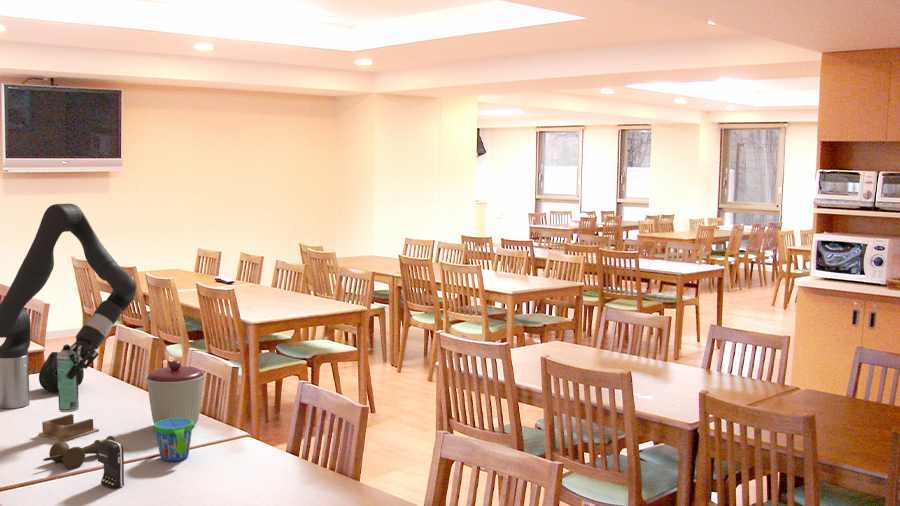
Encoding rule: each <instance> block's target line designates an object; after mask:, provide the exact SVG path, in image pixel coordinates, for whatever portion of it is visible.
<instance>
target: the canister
mask: <svg viewBox="0 0 900 506" xmlns="http://www.w3.org/2000/svg"><path fill="white" fill-rule="evenodd" d="M205 376H206V372H204V371H203V370H201V369H199V368H197V367H194V366H186V365H184V366H183V365H182V364H181V361H179V360H172V361H170V363H168V366H166V367H161V368H157V369H154V370H152V371H150V372H149V373H147V374H146V375H144V380H145V382H146V383H147V392H148V399H149V405H150V411H151V417H152V422H153V425H154V424H155V423H156V422H158V421H160V420H164V419H169V418H188V419H191V420H193V424H194V426H196V425H197V423H198V420H199V419H200V418H199V417H200V414H201V413H200V412H201V405H202V395H203V385H204V384H203V383H204V378H205Z"/></svg>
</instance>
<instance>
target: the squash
mask: <svg viewBox="0 0 900 506" xmlns="http://www.w3.org/2000/svg"><path fill="white" fill-rule="evenodd" d="M59 352H60V351H59ZM59 352H58V351H51V352H50V353H49V355H48V357H47V358H46V360H45V361H44V363H43V364H42V366H41V368H40V371H39V373H38V381H39V385H40V387H42V389H44V390H45V391H47V392H51V393H54V392H57V393H58V377H56V376H55V375H54V374H53V372H54V370H55V369H56V368H57V356H58V355H57V354H58V353H59ZM79 363H80V362H79ZM84 373H85V372H84V368H82V369H81V370H79V371H78V373H77V375H78V387H79V386H80V385H81V384H82V382H83V380H84Z"/></svg>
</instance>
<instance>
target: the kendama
mask: <svg viewBox="0 0 900 506" xmlns="http://www.w3.org/2000/svg"><path fill="white" fill-rule="evenodd" d="M107 440H114V441H117V440H116V438H115V436H113V435H109V436H107V437H106V438H105V439H103V440H100V439H96V440H94V441H93V443H90V444H89V445H86V446H83V447H81V446H73V447H70V446H69V444H68V443H67V442H63V441H58V442H55V443H54V444H52V446H51V447H50V449H49V456H48V457H45V458H43V460H42V461H44V462H48V461H53V462H55V463H57V462H59V463H60V462H63V465H64V467H65V468H66V469H69V470H73V469H77V468H79V467H81V466H82V465H83V464H84V462H85V460H86V455H89V454H90V455H92V454H94V455H97V451H98V445H99V444H100V443H101V442H104V441H107Z"/></svg>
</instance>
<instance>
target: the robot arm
mask: <svg viewBox="0 0 900 506" xmlns="http://www.w3.org/2000/svg"><path fill="white" fill-rule="evenodd" d="M65 232H67V233H68V232H70V234H73V236H75V238H76V239H77V240H78V241H79V242H80V244H81V246H82V249H83V254H84V257H85V259H86V260H85V261H86V262H87V264H88V265H89V266H90V268H91V269H92V270H93V272H94V273H95V274H96V275H97V277H99V278H100V280H102V281H104V282H107V284H108V285H109V286H110V287H111V289H112V290H111V293H110V294H109V295H108V297H107V298H106V299H105V300H103V301H102V302H101V303H100V304H99V305H98V306H97V308H96V309H95V310H94V312H93V313H92V315H90V316H89V318H88V319H87V320H86V321H85V323H84V324H83V326H82V327H81V328H80V330H79V331H78V332H77V334H76V335H75V342H74V343H73V344H71V345H69V346H70V349H72V351H74V352H76V355H77V356H76V361H75V364H74V365H75V366H72V368H71V369H70V371H69V372H68V373H67V375H66V377H67V378H69V379H71V380H72V379H73V378H74V377H75V376H76V374H77V373H78V371H79V370H81V369H82V368H83V370H84V369H85V370H86V369H88V368H89V366H90V365H91V364H92V363H93V362H94V361H95V359H96V358H97V357H98V356H99V354H100V353H99V352H98V351H97V350H98V349H99V348H100V346H101V344H103V342H104V341H105V339H106V338H107V337H108V335H109V334H110V332H111V330H112V328H113V326H114V325H115V323H116V322H117V321H118V319H119V317H121V314H123V313H124V311H125V310H126V309H127V308H128V307H129V306H130V304H131V303H132V302H133V300H134V299H135V297H136V293H137V283H136V282H135V279H134V278H133V277H132V276H131V275H130V274H129V273H128V272H127V271H126V270H125V269H124V268H123V267H121V266H120V265H119V264H118V262H117V261H116V260H115V258H114V257H112V255H111V254H110V253H109V251H108V250H107V249H106V247H104V244H102V242H101V241H100V239H99V237H98V236H97V234H96V232H95V231H94V229H93V228H92V225H91V224H90V222H89V221H88V218H87V216H86V215H85V214H84V212H83V210H82V209H81V208H80V207H79V206H78V205H76V204H74V203H55V204H52V205H49V206H47V208H46V210H45V212H44V213H43V215H42V218H41V221H40V223H39V226H38V229H37V231H36V234H35V237H34V239H33V241H32V243H31V245H30V247H29V250H28V252H27V253H26V256H25V257H24V259H23V261H22V263H21V265H20V267H19V268H18V271H17V272H16V275H15V277H14V280H12V283H11V285H10V287H9V289H8V291H7V292H6V295H4V298H2V299H3V300H2V301H1V302H0V338H1V339H2V338H3V339H4V338H5V340H4V342H3V343H2V344H0V409H8V410H9V409H18V408H22V407H23V408H24V407H26V406H28V405H31V404H30V403H31V402H30V375H29V374H30V372H29V369H30V368H29V348H30V345H31V319H30V315H29V313H28V311H27V310H25V308H24V307H25V306H26V305H27V304H28V303H29V301H31V300H32V299H33V298H34V297H35V296H36V295H37V294H38V293H39V292H40V291H41V290H42V289H43V288H44V287H45V285H46V284H47V282H48V280H49V278H50V276H51V274H52V272H53V270H54V267H55V266H54V265H55V257H54V249H55V246H56V244H57V242H58V241H59V238H61V237H60V236H61V235H62V234H63V233H65ZM65 345H68V344H65ZM79 362H80V363H79ZM53 374H54V375H55V376H56V377H58V372H57V368H56V369H55V370H54V372H53Z"/></svg>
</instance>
